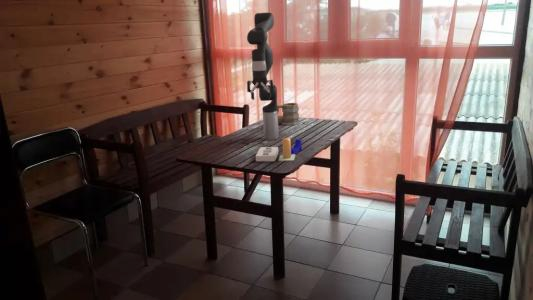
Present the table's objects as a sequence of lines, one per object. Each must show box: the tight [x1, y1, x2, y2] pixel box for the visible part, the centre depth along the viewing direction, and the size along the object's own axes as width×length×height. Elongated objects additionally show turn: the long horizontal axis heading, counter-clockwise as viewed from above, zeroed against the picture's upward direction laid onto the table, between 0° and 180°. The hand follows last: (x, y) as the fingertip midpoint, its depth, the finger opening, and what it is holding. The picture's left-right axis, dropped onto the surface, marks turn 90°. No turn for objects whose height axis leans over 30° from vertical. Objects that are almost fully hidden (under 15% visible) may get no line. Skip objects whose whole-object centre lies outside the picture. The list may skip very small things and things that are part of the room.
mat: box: [278, 153, 296, 162], centre depth 235 cm, size 10×8×1 cm
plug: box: [281, 137, 292, 158], centre depth 233 cm, size 4×4×10 cm
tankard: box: [277, 102, 301, 127], centre depth 310 cm, size 20×13×15 cm, turn 84°
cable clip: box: [291, 138, 303, 155], centre depth 243 cm, size 12×4×6 cm, turn 140°
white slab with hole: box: [255, 146, 279, 162], centre depth 239 cm, size 16×10×3 cm, turn 171°
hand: (261, 99), depth 239 cm, fingers open, 8 cm apart
